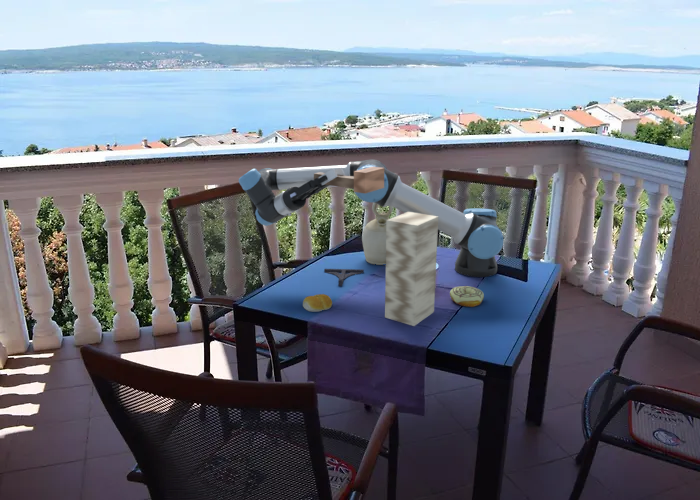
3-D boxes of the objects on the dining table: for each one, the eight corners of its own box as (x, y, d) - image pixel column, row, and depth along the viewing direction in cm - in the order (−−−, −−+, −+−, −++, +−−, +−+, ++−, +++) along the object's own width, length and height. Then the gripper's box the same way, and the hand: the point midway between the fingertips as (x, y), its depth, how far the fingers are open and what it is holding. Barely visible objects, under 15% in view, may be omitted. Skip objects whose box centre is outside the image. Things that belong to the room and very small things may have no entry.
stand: (384, 317, 164) (386, 220, 154) (405, 304, 173) (408, 211, 164) (414, 326, 158) (417, 225, 149) (433, 312, 167) (438, 216, 158)
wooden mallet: (306, 184, 170) (306, 165, 168) (326, 179, 178) (326, 161, 176) (365, 193, 158) (365, 172, 156) (384, 187, 165) (384, 167, 164)
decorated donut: (453, 308, 170) (454, 297, 169) (446, 295, 180) (447, 284, 179) (487, 307, 171) (487, 296, 169) (478, 294, 181) (479, 283, 180)
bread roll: (336, 308, 171) (336, 296, 170) (311, 314, 166) (311, 302, 165) (323, 299, 178) (323, 287, 176) (298, 305, 173) (298, 293, 172)
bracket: (319, 287, 189) (319, 279, 188) (324, 272, 203) (324, 265, 202) (361, 288, 188) (361, 281, 187) (363, 273, 202) (363, 266, 201)
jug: (393, 269, 204) (394, 203, 196) (355, 263, 210) (355, 199, 202) (407, 257, 217) (409, 195, 209) (371, 252, 223) (371, 191, 215)
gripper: (310, 206, 189) (359, 178, 174) (278, 215, 176) (327, 187, 161) (301, 186, 189) (349, 157, 174) (269, 194, 177) (317, 163, 162)
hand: (338, 171), depth 168 cm, fingers closed on wooden mallet, 3 cm apart
